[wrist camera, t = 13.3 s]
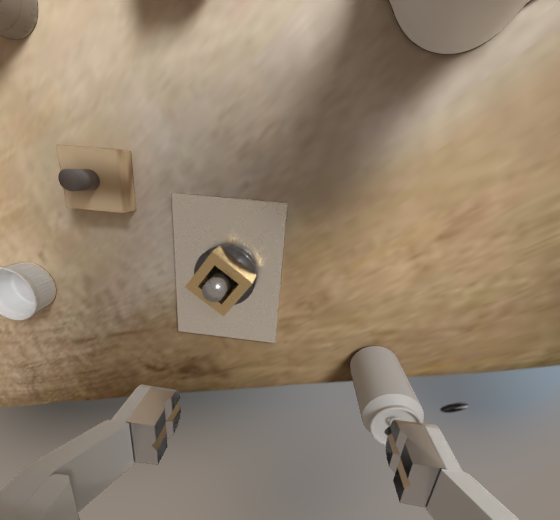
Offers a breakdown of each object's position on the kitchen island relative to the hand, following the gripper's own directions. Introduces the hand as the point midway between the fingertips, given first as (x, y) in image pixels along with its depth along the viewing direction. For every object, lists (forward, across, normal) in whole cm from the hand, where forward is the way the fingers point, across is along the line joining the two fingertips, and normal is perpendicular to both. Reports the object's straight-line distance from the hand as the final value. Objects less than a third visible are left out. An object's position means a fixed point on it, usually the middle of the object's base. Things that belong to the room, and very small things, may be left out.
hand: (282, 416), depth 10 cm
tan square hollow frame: (+27, +10, +6) cm, 29 cm away
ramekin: (+29, +43, +12) cm, 53 cm away
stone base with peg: (+29, +10, +6) cm, 31 cm away
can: (+29, -14, +19) cm, 38 cm away
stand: (+29, +28, -6) cm, 41 cm away
